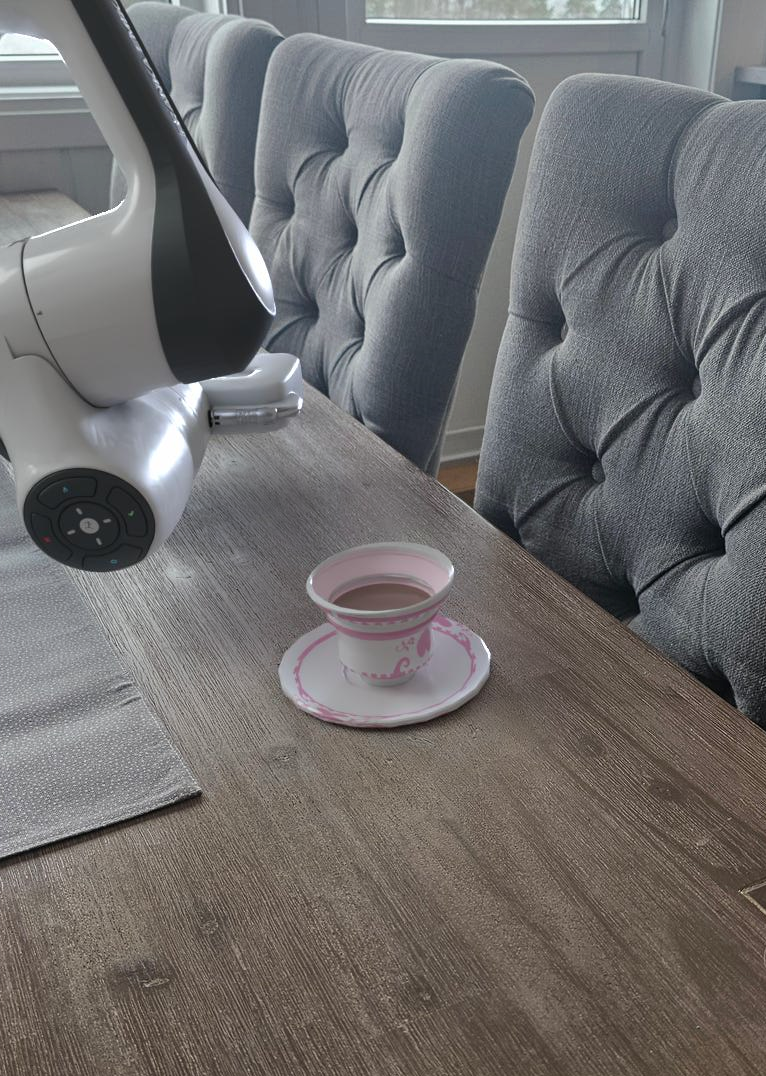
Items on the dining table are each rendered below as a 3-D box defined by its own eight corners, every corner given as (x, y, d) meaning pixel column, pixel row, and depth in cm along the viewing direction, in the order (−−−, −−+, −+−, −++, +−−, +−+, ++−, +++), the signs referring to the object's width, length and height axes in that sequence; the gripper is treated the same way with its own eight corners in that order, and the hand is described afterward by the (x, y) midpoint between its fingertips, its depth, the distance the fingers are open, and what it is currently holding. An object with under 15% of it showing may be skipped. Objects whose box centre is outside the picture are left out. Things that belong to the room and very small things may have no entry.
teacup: (419, 757, 57) (413, 653, 54) (235, 695, 62) (218, 597, 59) (527, 647, 66) (528, 552, 62) (358, 601, 71) (350, 511, 67)
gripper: (294, 371, 73) (307, 314, 85) (-25, 383, 72) (32, 323, 84) (304, 462, 77) (315, 395, 88) (0, 474, 76) (51, 405, 87)
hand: (175, 360), depth 86 cm, fingers open, 8 cm apart
